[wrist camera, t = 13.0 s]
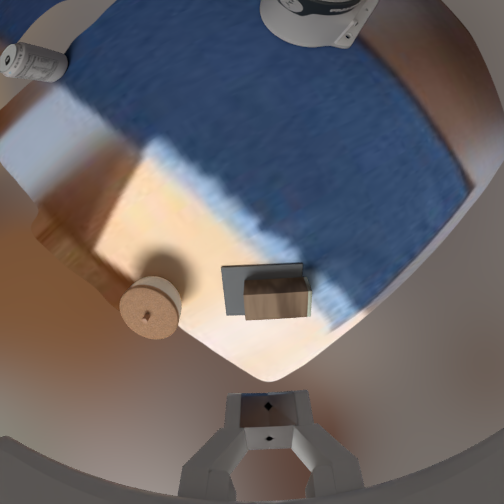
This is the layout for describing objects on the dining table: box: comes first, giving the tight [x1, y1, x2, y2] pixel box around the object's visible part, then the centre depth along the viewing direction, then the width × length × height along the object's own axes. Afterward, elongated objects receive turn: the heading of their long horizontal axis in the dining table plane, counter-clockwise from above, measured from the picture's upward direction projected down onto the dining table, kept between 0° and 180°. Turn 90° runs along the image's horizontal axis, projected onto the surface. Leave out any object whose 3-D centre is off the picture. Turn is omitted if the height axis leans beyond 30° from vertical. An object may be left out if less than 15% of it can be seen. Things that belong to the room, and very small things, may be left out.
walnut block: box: [243, 277, 312, 320], centre depth 47 cm, size 5×5×11 cm
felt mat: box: [221, 263, 303, 316], centre depth 50 cm, size 14×10×1 cm
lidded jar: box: [120, 276, 182, 339], centre depth 46 cm, size 11×11×9 cm
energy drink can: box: [0, 42, 68, 82], centre depth 26 cm, size 6×6×15 cm
